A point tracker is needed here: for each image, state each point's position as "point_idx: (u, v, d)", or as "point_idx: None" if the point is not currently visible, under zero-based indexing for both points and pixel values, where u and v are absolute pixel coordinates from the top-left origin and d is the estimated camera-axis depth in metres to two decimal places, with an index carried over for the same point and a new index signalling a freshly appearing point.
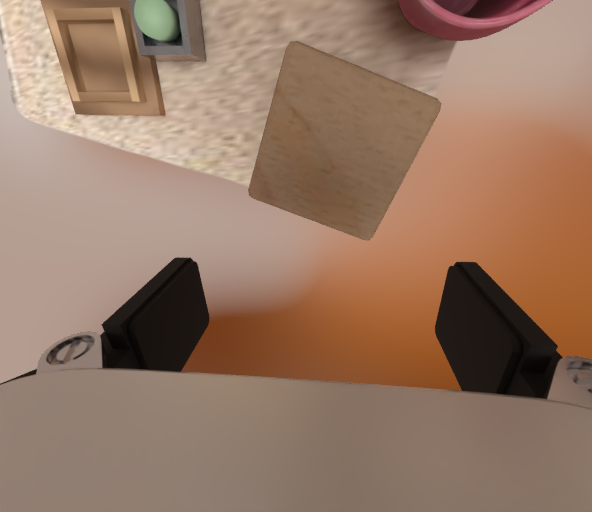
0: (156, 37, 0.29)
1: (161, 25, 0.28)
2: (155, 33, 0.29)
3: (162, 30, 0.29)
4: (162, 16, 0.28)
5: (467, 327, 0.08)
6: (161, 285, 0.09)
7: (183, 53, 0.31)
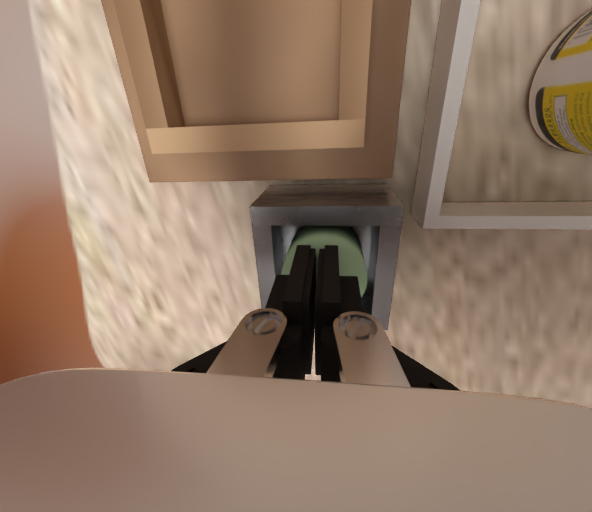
0: None
1: None
2: None
3: None
4: None
5: None
6: (305, 268, 0.09)
7: None
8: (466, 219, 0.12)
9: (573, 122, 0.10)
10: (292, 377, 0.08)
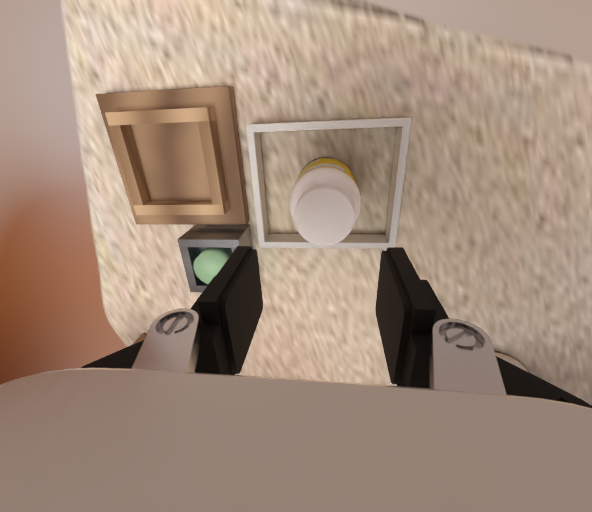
0: (194, 269, 0.28)
1: (205, 277, 0.28)
2: (197, 270, 0.28)
3: (201, 277, 0.28)
4: None
5: (387, 302, 0.09)
6: (235, 269, 0.09)
7: (190, 284, 0.29)
8: (276, 243, 0.28)
9: None
10: None
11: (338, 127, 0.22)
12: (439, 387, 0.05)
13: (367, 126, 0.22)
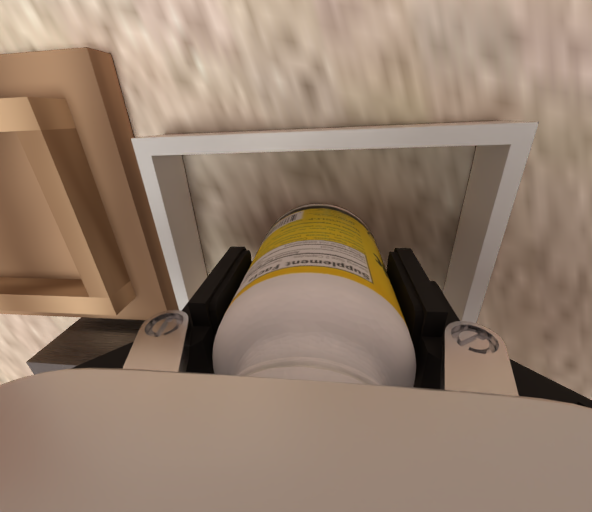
0: None
1: None
2: None
3: None
4: None
5: None
6: (227, 270, 0.09)
7: None
8: None
9: None
10: None
11: (348, 146, 0.09)
12: (450, 389, 0.05)
13: (420, 144, 0.09)
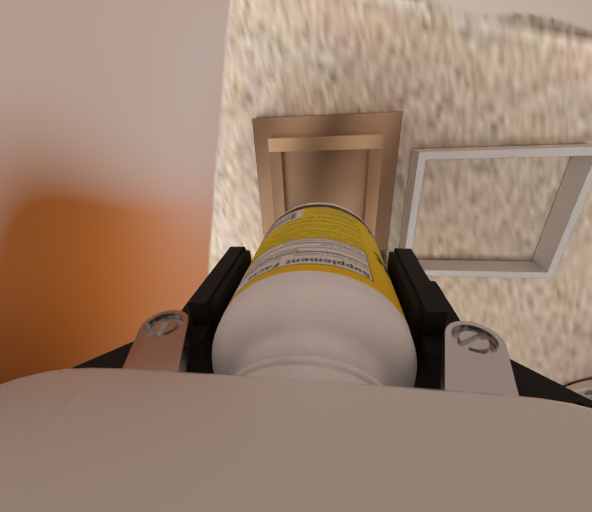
0: None
1: None
2: None
3: None
4: None
5: None
6: (227, 270, 0.09)
7: None
8: None
9: None
10: None
11: (522, 155, 0.21)
12: (450, 389, 0.05)
13: (556, 155, 0.21)
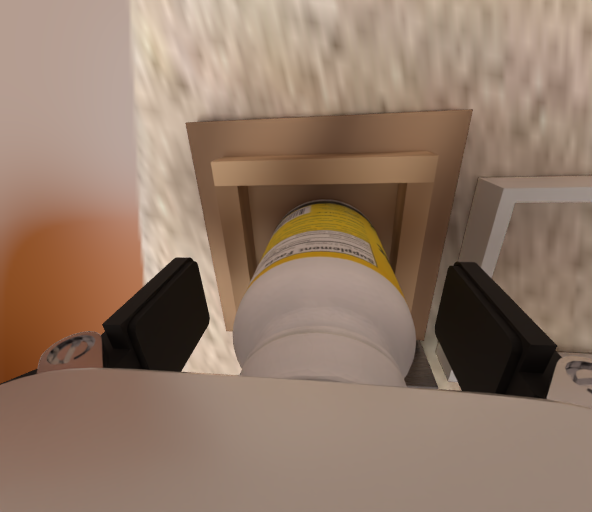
0: None
1: None
2: None
3: None
4: None
5: (466, 327, 0.08)
6: (161, 285, 0.09)
7: None
8: None
9: None
10: None
11: None
12: None
13: None
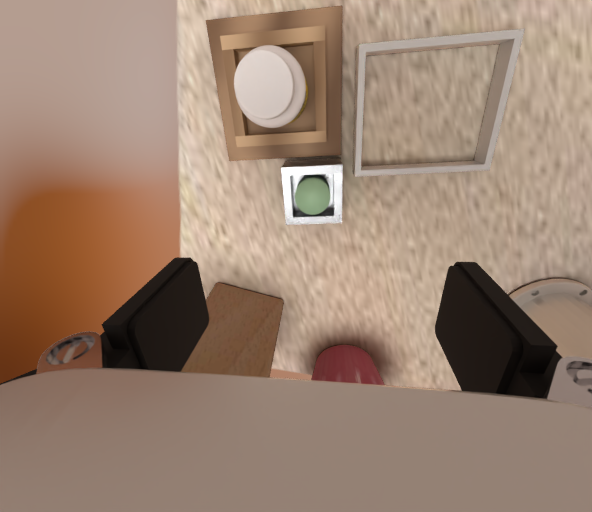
0: (295, 199, 0.29)
1: (305, 206, 0.29)
2: (298, 199, 0.28)
3: (300, 206, 0.29)
4: (312, 208, 0.29)
5: (467, 327, 0.08)
6: (161, 285, 0.09)
7: (286, 216, 0.30)
8: (372, 171, 0.29)
9: None
10: None
11: (451, 42, 0.23)
12: None
13: (480, 40, 0.23)
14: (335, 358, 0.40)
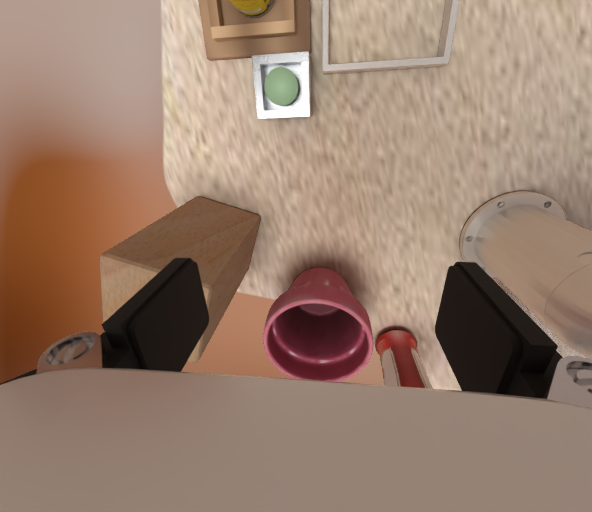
0: (265, 88, 0.30)
1: (274, 96, 0.31)
2: (268, 88, 0.30)
3: (270, 96, 0.31)
4: (281, 98, 0.31)
5: (467, 327, 0.08)
6: (161, 285, 0.09)
7: (257, 110, 0.32)
8: (338, 65, 0.31)
9: None
10: None
11: None
12: None
13: None
14: (309, 274, 0.42)
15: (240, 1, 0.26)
